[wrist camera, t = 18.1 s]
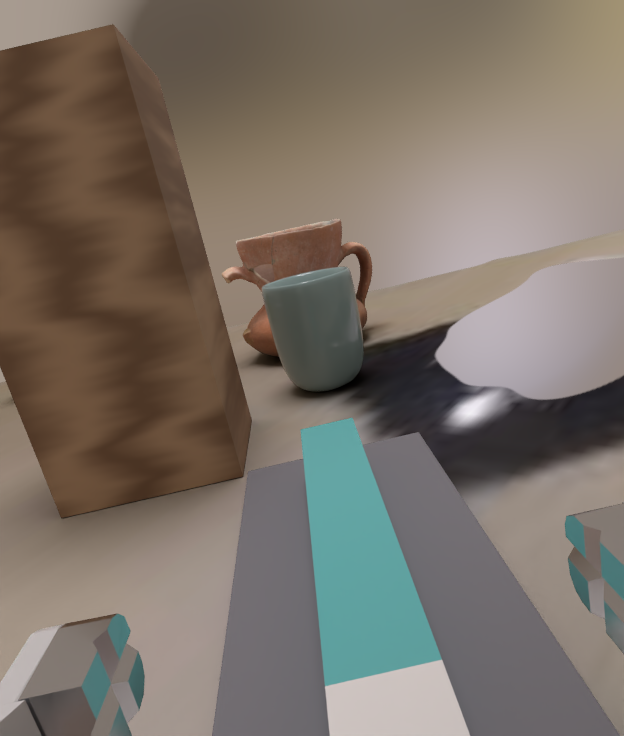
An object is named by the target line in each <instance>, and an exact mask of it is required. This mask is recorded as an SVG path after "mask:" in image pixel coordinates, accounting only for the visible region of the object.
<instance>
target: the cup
mask: <svg viewBox="0 0 624 736" xmlns="http://www.w3.org/2000/svg"><path fill="white" fill-rule="evenodd" d="M262 296H263V300H264V305H265V309H266V313H267V317H268V321H269V325H270V329H271V332H272V336H273V340H274V343H275V346H276V350H277V353H278V355H279V358H280V361H281V363H282V366H283V368H284V370H285V372H286V374H287V375H288V377H289V378H290V380H291V381H292V382H293V383H294V384H295V385H296V386H298V387H299V388H301V389H304V390H307V391H313V392H322V391H328V390H333V389H336V388H339V387H341V386H344V385H346V384H347V383H349V382H350V381H352V380H353V379H354V378H355V377H356V376H357V375H358V373H359V372H360V369H361V367H362V364H363V355H364V347H363V335H362V327H361V321H360V315H359V310H358V304H357V299H356V294H355V289H354V285H353V280H352V276H351V272H350V270H349V268H348V267H334V268H326V269H321V270H315V271H310V272H306V273H301V274H297V275H294V276H290V277H286V278H283V279H279V280H276V281H273V282H270V283H268V284H265V285H264V286H262Z"/></svg>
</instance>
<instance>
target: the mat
mask: <svg viewBox="0 0 624 736" xmlns="http://www.w3.org/2000/svg"><path fill="white" fill-rule="evenodd" d="M363 448H364V451H365V453H366V456H367V459H368V462H369V464H370V467H371V470H372V472H373V475H374V478H375V480H376V483H377V486H378V488H379V491H380V494H381V497H382V499H383V502H384V505H385V507H386V510H387V513H388V515H389V518H390V521H391V523H392V526H393V529H394V532H395V534H396V537H397V540H398V542H399V545H400V548H401V550H402V553H403V556H404V559H405V561H406V564H407V567H408V569H409V572H410V575H411V577H412V580H413V583H414V585H415V588H416V591H417V594H418V596H419V599H420V602H421V604H422V607H423V610H424V612H425V615H426V618H427V620H428V623H429V626H430V629H431V631H432V634H433V637H434V639H435V642H436V645H437V647H438V650H439V653H440V655H441V658H442V661H443V664H444V666H445V669H446V672H447V674H448V677H449V680H450V682H451V685H452V688H453V691H454V693H455V696H456V699H457V701H458V704H459V707H460V709H461V712H462V715H463V717H464V720H465V723H466V726H467V728H468V731H469V734H470V736H620V735H619V733H618V732H617V730H616V729H615V727H614V726H613V724H612V723H611V721H610V720H609V718H608V717H607V715H606V714H605V712H604V711H603V709H602V708H601V706H600V705H599V703H598V702H597V700H596V699H595V697H594V696H593V694H592V693H591V691H590V690H589V688H588V687H587V685H586V684H585V682H584V681H583V679H582V678H581V676H580V675H579V673H578V672H577V670H576V669H575V667H574V666H573V664H572V663H571V661H570V660H569V658H568V657H567V655H566V654H565V652H564V651H563V649H562V648H561V646H560V645H559V643H558V642H557V640H556V639H555V637H554V635H553V634H552V632H551V631H550V629H549V628H548V626H547V625H546V623H545V622H544V620H543V619H542V617H541V616H540V614H539V613H538V611H537V610H536V608H535V607H534V605H533V604H532V602H531V601H530V599H529V598H528V596H527V595H526V593H525V592H524V590H523V589H522V587H521V586H520V584H519V583H518V581H517V580H516V578H515V577H514V575H513V574H512V572H511V571H510V569H509V568H508V566H507V565H506V563H505V562H504V560H503V559H502V557H501V556H500V554H499V553H498V551H497V550H496V548H495V547H494V545H493V544H492V542H491V541H490V539H489V538H488V536H487V535H486V533H485V532H484V530H483V529H482V527H481V526H480V524H479V523H478V521H477V520H476V518H475V517H474V515H473V514H472V512H471V511H470V509H469V508H468V506H467V505H466V503H465V502H464V500H463V499H462V497H461V496H460V494H459V493H458V491H457V490H456V488H455V486H454V485H453V483H452V482H451V480H450V479H449V477H448V476H447V474H446V473H445V471H444V470H443V468H442V467H441V465H440V464H439V462H438V461H437V459H436V458H435V456H434V455H433V453H432V452H431V450H430V449H429V447H428V446H427V444H426V443H425V441H424V440H423V438H422V437H421V435H420V434H419V432H417V433H413V434H409V435H404V436H400V437H396V438H391V439H387V440H383V441H378V442H374V443H369V444H365V445H363ZM212 736H330V733H329V723H328V712H327V702H326V691H325V681H324V670H323V660H322V649H321V639H320V628H319V618H318V607H317V597H316V586H315V576H314V565H313V555H312V544H311V534H310V523H309V513H308V502H307V492H306V481H305V471H304V460H303V459H300V460H295V461H291V462H287V463H282V464H278V465H274V466H269V467H265V468H261V469H256V470H252V471H248V477H247V484H246V491H245V499H244V506H243V513H242V521H241V528H240V535H239V542H238V550H237V557H236V564H235V572H234V579H233V586H232V594H231V601H230V608H229V616H228V623H227V630H226V638H225V645H224V652H223V660H222V667H221V674H220V682H219V689H218V696H217V704H216V711H215V718H214V726H213V733H212Z"/></svg>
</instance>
